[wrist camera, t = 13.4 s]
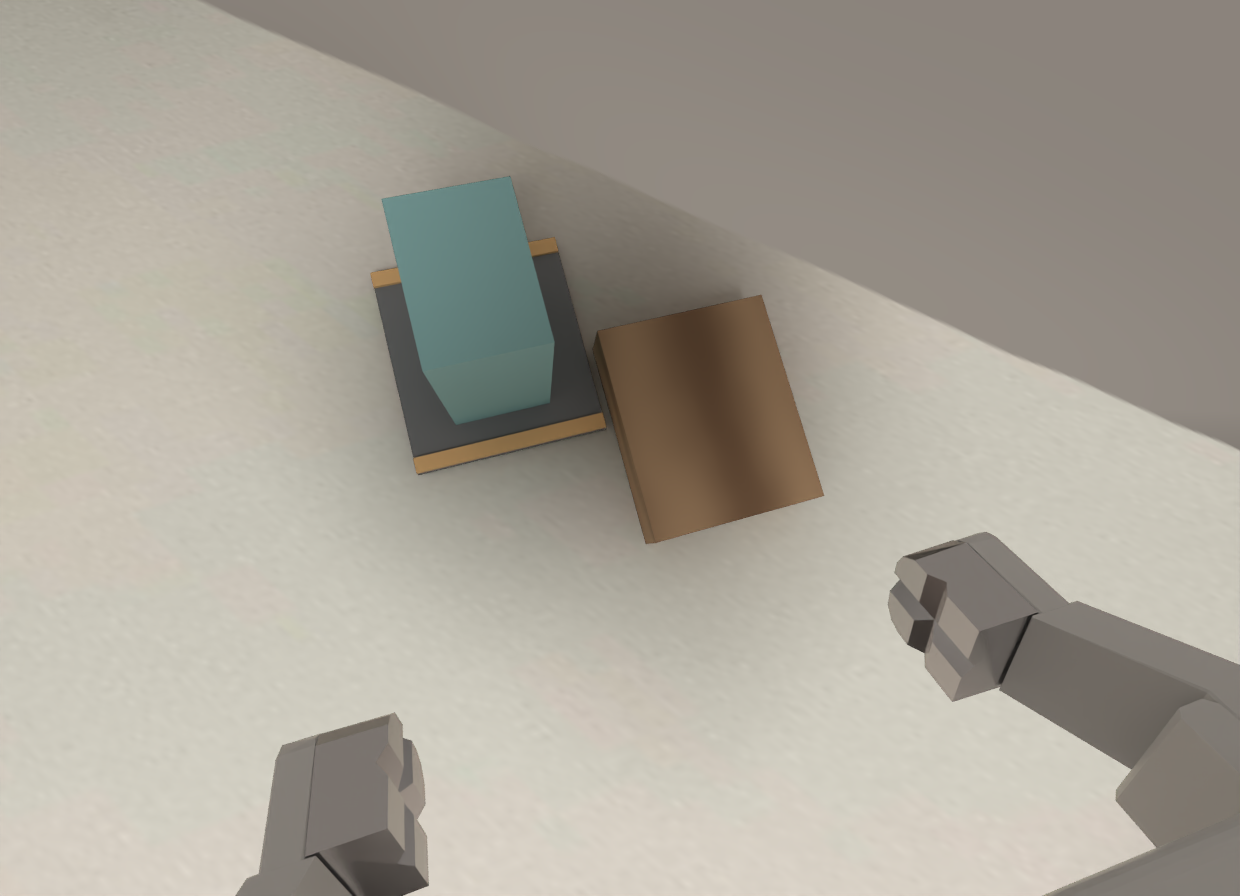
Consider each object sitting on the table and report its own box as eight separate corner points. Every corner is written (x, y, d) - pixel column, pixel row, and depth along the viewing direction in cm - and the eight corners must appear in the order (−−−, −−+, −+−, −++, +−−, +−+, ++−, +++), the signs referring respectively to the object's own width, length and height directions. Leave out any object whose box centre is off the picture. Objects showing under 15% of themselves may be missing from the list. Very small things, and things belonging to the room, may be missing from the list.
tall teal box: (456, 425, 34) (422, 371, 24) (425, 299, 35) (381, 199, 25) (550, 403, 35) (554, 342, 25) (518, 281, 35) (510, 176, 26)
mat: (419, 474, 34) (416, 473, 33) (373, 278, 35) (370, 272, 34) (604, 429, 35) (606, 426, 35) (554, 243, 37) (554, 237, 36)
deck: (645, 543, 34) (655, 542, 32) (592, 349, 36) (597, 330, 33) (800, 500, 36) (824, 495, 33) (743, 315, 37) (761, 294, 34)
